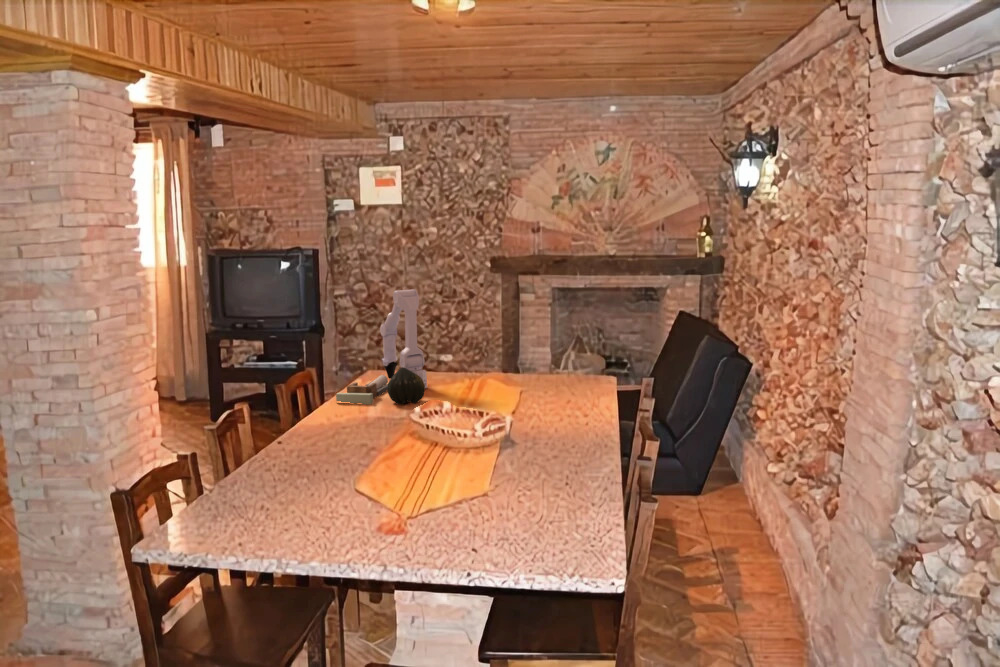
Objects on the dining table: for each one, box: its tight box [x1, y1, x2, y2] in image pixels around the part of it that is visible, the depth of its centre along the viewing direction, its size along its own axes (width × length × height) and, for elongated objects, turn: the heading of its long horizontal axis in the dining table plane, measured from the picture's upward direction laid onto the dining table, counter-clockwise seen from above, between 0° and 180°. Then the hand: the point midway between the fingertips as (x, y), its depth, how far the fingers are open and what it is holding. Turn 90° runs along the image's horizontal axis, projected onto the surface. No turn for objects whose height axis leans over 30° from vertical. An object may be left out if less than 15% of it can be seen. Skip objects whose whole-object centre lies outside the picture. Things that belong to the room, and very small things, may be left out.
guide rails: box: [364, 380, 388, 397], centre depth 340 cm, size 10×24×2 cm, turn 168°
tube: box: [366, 374, 389, 390], centre depth 340 cm, size 5×5×25 cm
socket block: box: [346, 382, 378, 400], centre depth 323 cm, size 10×8×6 cm
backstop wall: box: [335, 392, 374, 405], centre depth 315 cm, size 15×2×4 cm, turn 78°
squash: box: [387, 367, 426, 405], centre depth 314 cm, size 14×15×15 cm
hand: (391, 378), depth 357 cm, fingers closed
